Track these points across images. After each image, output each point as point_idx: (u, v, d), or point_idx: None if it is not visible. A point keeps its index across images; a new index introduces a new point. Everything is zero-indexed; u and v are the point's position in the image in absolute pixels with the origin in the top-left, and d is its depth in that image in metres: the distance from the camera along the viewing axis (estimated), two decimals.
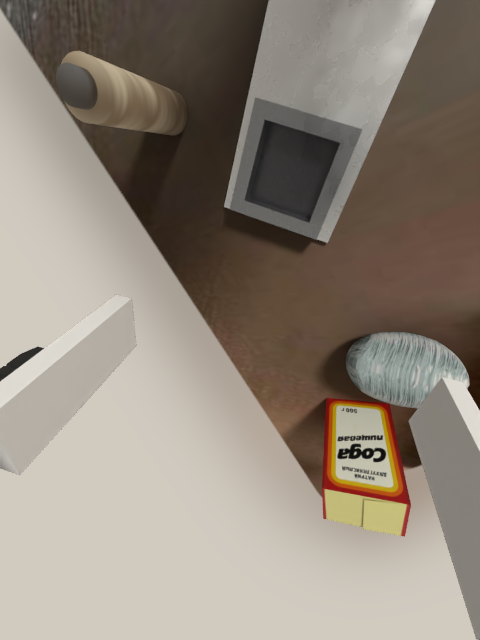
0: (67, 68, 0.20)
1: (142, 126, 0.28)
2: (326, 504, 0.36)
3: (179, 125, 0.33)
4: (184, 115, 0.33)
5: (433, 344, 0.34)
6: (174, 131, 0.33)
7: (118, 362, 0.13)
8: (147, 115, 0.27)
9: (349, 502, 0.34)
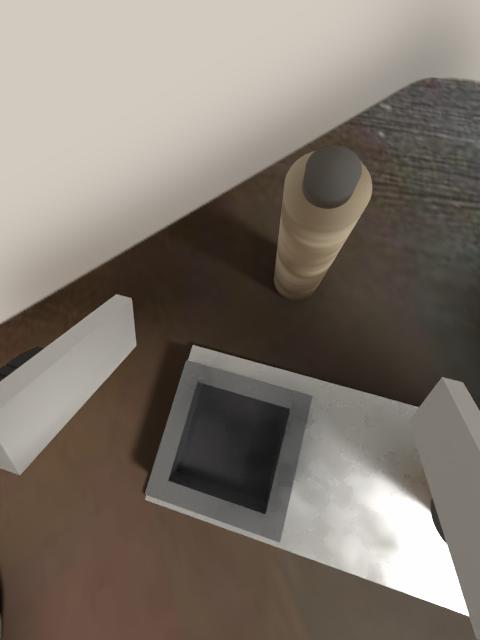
0: (354, 168, 0.13)
1: (281, 254, 0.20)
2: None
3: (283, 291, 0.26)
4: (293, 298, 0.27)
5: None
6: (277, 284, 0.27)
7: (118, 362, 0.13)
8: (294, 264, 0.20)
9: None
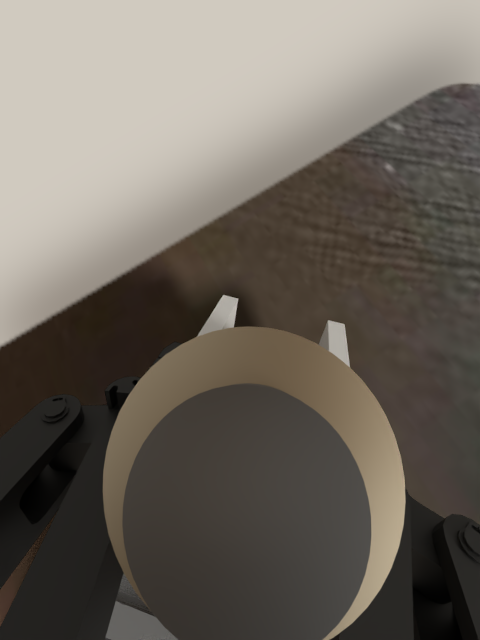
0: (337, 517, 0.03)
1: None
2: None
3: None
4: None
5: None
6: None
7: None
8: None
9: None
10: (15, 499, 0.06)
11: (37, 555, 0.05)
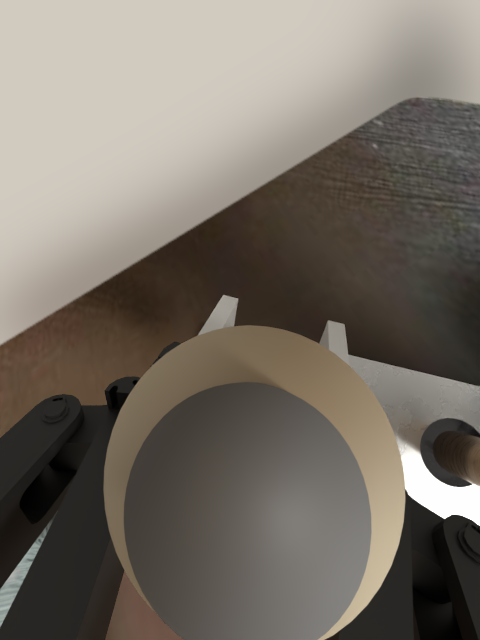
0: (337, 514, 0.03)
1: None
2: None
3: None
4: None
5: None
6: None
7: None
8: None
9: None
10: (15, 498, 0.06)
11: (37, 555, 0.05)
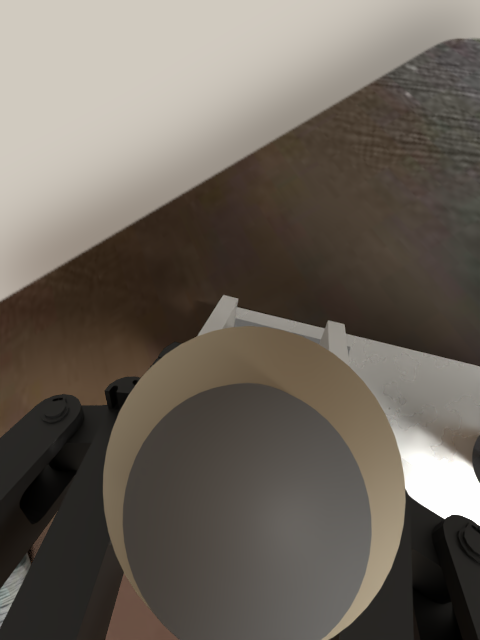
0: (337, 516, 0.03)
1: None
2: None
3: None
4: None
5: None
6: None
7: None
8: None
9: None
10: (15, 498, 0.06)
11: (37, 555, 0.05)
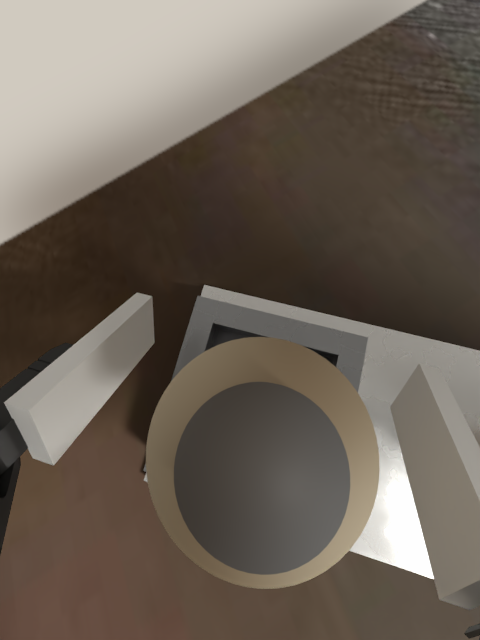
0: (326, 474, 0.04)
1: None
2: None
3: None
4: None
5: None
6: None
7: (138, 359, 0.13)
8: None
9: None
10: None
11: None
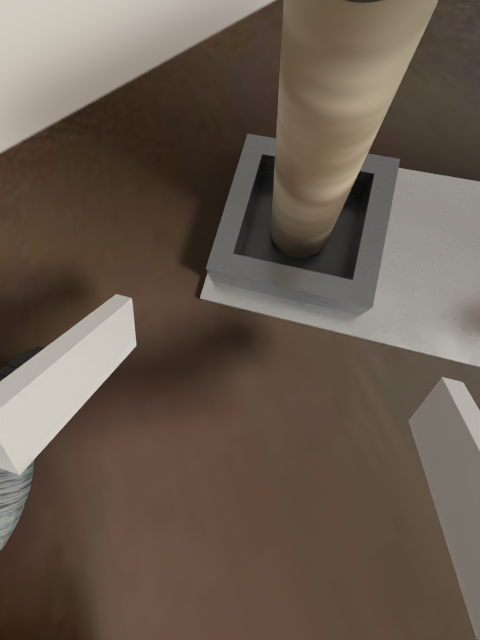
0: None
1: (280, 164, 0.14)
2: None
3: (284, 242, 0.20)
4: (297, 252, 0.20)
5: None
6: (275, 233, 0.20)
7: (118, 362, 0.13)
8: (300, 174, 0.13)
9: None
10: None
11: None
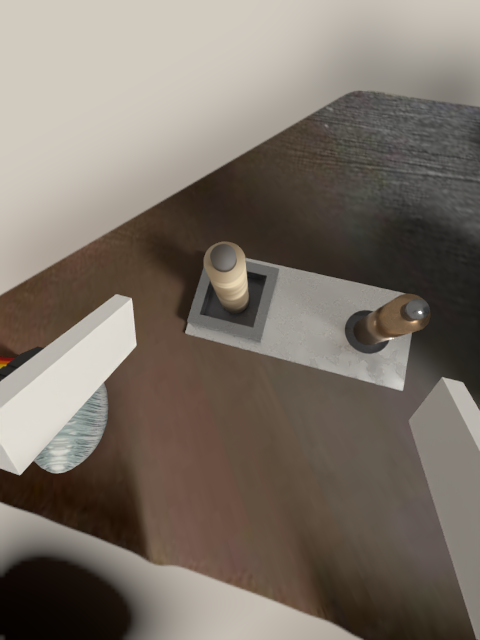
0: (232, 255, 0.28)
1: (214, 288, 0.35)
2: None
3: (224, 307, 0.41)
4: (231, 311, 0.42)
5: (98, 433, 0.37)
6: (221, 303, 0.41)
7: (118, 362, 0.13)
8: (220, 294, 0.35)
9: None
10: None
11: None
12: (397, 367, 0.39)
